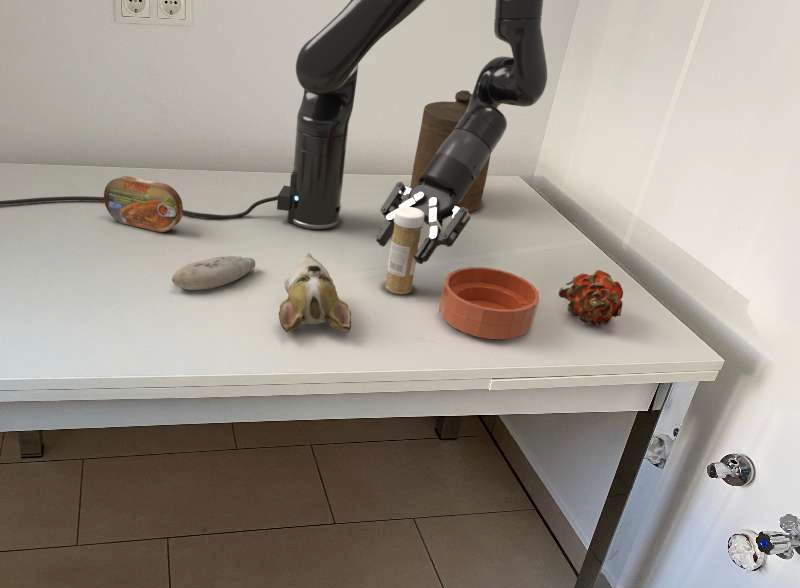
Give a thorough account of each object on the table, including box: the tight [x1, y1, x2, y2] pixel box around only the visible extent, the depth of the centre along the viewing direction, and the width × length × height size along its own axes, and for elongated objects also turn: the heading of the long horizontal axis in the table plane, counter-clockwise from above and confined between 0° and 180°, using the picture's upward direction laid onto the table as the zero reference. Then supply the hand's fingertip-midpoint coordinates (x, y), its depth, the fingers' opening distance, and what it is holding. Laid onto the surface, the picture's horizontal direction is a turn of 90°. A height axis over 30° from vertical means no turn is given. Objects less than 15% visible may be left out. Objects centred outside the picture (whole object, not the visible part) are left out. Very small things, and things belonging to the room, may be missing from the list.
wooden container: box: [409, 89, 492, 213], centre depth 157 cm, size 15×15×22 cm
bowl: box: [438, 266, 540, 340], centre depth 121 cm, size 14×14×6 cm
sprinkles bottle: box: [384, 207, 425, 295], centre depth 125 cm, size 5×5×14 cm
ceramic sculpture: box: [278, 252, 352, 333], centre depth 117 cm, size 11×9×15 cm
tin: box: [103, 175, 184, 233], centre depth 140 cm, size 15×3×8 cm, turn 68°
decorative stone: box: [171, 255, 256, 291], centre depth 126 cm, size 6×16×3 cm, turn 130°
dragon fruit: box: [558, 269, 624, 326], centre depth 123 cm, size 8×8×12 cm
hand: (398, 252), depth 124 cm, fingers open, 7 cm apart
